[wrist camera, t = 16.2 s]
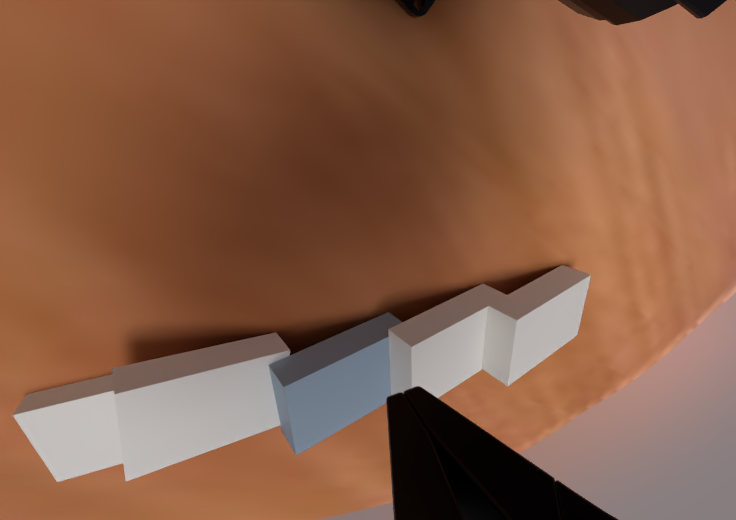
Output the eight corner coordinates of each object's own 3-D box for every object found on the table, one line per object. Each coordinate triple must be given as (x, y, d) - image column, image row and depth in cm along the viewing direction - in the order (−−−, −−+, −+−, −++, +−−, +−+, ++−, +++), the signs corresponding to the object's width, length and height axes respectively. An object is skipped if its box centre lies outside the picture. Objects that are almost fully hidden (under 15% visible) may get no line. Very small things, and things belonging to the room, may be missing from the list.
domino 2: (290, 350, 21) (114, 394, 16) (286, 423, 22) (125, 481, 18) (276, 332, 22) (111, 368, 18) (273, 401, 24) (122, 451, 19)
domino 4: (508, 295, 24) (411, 347, 20) (500, 357, 26) (411, 414, 22) (483, 283, 26) (388, 329, 22) (477, 342, 28) (390, 394, 24)
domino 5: (590, 275, 26) (516, 320, 22) (577, 334, 28) (507, 386, 24) (562, 264, 27) (488, 305, 23) (551, 322, 29) (482, 368, 25)
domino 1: (192, 371, 20) (12, 415, 18) (214, 436, 22) (57, 482, 20) (195, 348, 22) (31, 386, 20) (216, 411, 24) (70, 450, 22)
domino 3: (409, 327, 23) (283, 387, 19) (408, 389, 25) (296, 455, 21) (388, 312, 24) (268, 364, 20) (390, 372, 26) (281, 430, 23)
